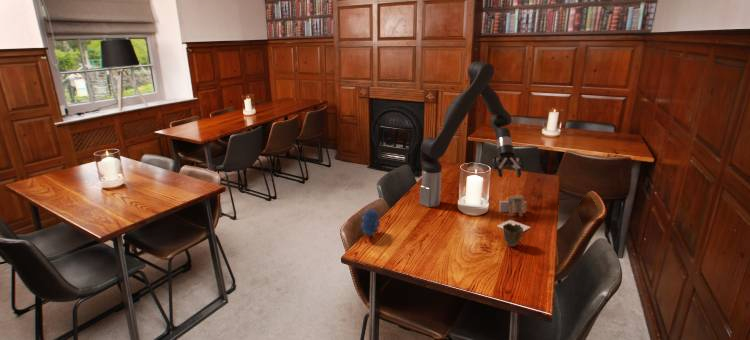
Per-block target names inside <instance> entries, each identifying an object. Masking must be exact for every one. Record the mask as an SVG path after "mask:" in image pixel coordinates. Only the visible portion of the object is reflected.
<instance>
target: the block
mask: <svg viewBox="0 0 750 340" xmlns="http://www.w3.org/2000/svg"><path fill="white" fill-rule="evenodd" d="M524 204H525V210H526V209H527V201H526V200H524ZM515 208H516V213H519V211H518V205H517V204H515ZM498 211H499V213H509V207H508V200H500V201H499V207H498ZM526 211H527V210H526Z"/></svg>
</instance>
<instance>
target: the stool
mask: <svg viewBox="0 0 750 340" xmlns="http://www.w3.org/2000/svg"><path fill="white" fill-rule="evenodd" d="M507 201H508V207H509V212H508V213H509V217H514V214H517V212H516V208H515V204H517V205H518V211H519V212H518V216H519V217H521V218H522V217H524V216H523V214H526V213H527V210H525V204H524V201H525V199H524V195H510V196H509V198H508V199H507Z"/></svg>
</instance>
